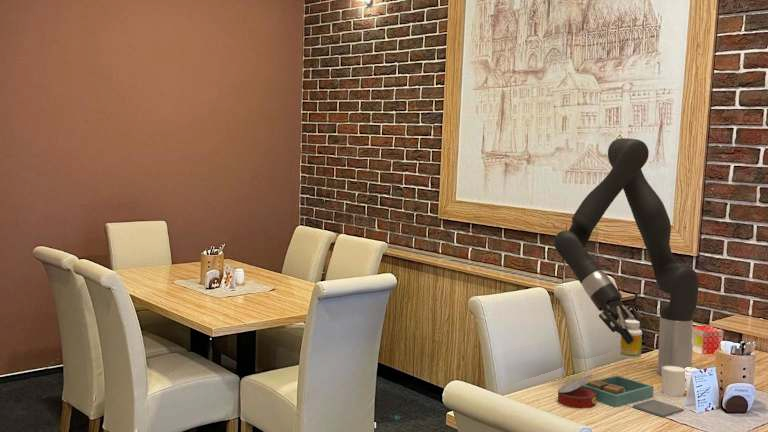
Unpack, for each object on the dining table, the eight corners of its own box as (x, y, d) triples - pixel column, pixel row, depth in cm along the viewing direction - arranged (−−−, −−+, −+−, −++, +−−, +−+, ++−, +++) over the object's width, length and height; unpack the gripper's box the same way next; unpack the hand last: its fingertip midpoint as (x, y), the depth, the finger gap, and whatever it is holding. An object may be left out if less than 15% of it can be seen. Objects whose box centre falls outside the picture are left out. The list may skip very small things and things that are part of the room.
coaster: (653, 401, 200) (653, 399, 200) (683, 411, 193) (683, 408, 193) (632, 407, 195) (632, 405, 195) (662, 417, 188) (663, 415, 188)
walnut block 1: (596, 394, 206) (596, 379, 206) (608, 397, 203) (608, 383, 203) (586, 396, 204) (587, 382, 204) (598, 400, 201) (599, 385, 200)
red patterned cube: (687, 348, 259) (688, 326, 259) (706, 347, 261) (707, 325, 261) (702, 354, 252) (703, 331, 251) (722, 353, 254) (723, 330, 253)
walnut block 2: (609, 398, 203) (610, 383, 202) (623, 401, 200) (624, 387, 200) (602, 401, 200) (603, 387, 200) (616, 405, 197) (617, 390, 197)
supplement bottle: (642, 359, 200) (643, 324, 199) (621, 358, 201) (622, 322, 201) (639, 354, 205) (641, 319, 205) (619, 353, 207) (620, 318, 206)
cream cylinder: (687, 391, 210) (688, 367, 209) (685, 398, 204) (687, 373, 203) (661, 388, 213) (662, 363, 212) (659, 394, 207) (660, 369, 206)
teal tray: (616, 385, 214) (616, 375, 214) (652, 396, 204) (653, 386, 204) (579, 394, 205) (579, 384, 205) (615, 407, 195) (616, 396, 195)
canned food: (579, 426, 194) (569, 396, 190) (554, 410, 203) (544, 381, 199) (610, 402, 198) (601, 372, 194) (584, 387, 206) (575, 359, 203)
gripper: (594, 284, 203) (632, 336, 195) (624, 279, 212) (661, 329, 204) (577, 300, 207) (613, 352, 199) (607, 295, 217) (642, 344, 208)
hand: (637, 340), depth 202 cm, fingers closed on supplement bottle, 5 cm apart
